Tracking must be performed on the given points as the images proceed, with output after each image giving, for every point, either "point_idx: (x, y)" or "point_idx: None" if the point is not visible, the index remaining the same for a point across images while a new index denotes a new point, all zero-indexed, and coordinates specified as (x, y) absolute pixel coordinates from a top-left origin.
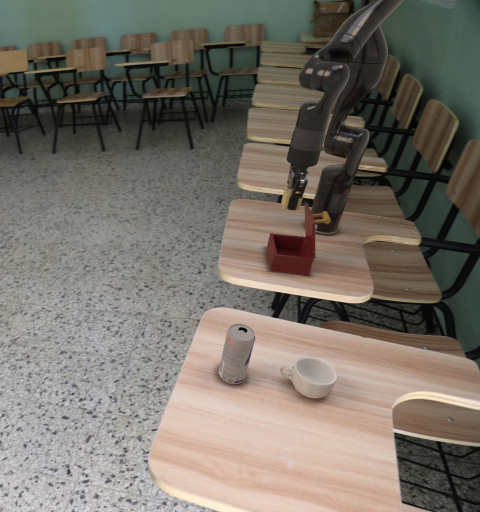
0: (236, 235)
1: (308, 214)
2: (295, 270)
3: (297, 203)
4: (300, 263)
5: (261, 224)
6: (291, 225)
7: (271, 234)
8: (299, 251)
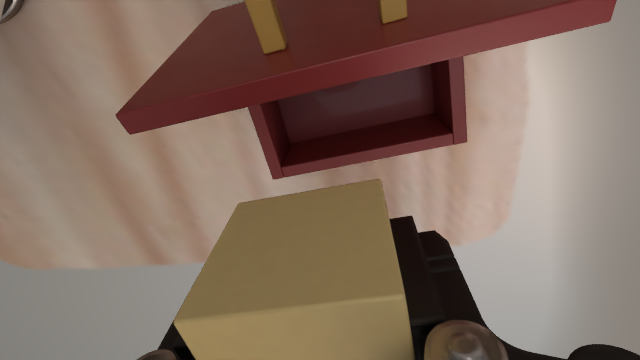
0: None
1: (350, 77)
2: None
3: (425, 260)
4: None
5: (123, 187)
6: (44, 85)
7: (283, 173)
8: None
